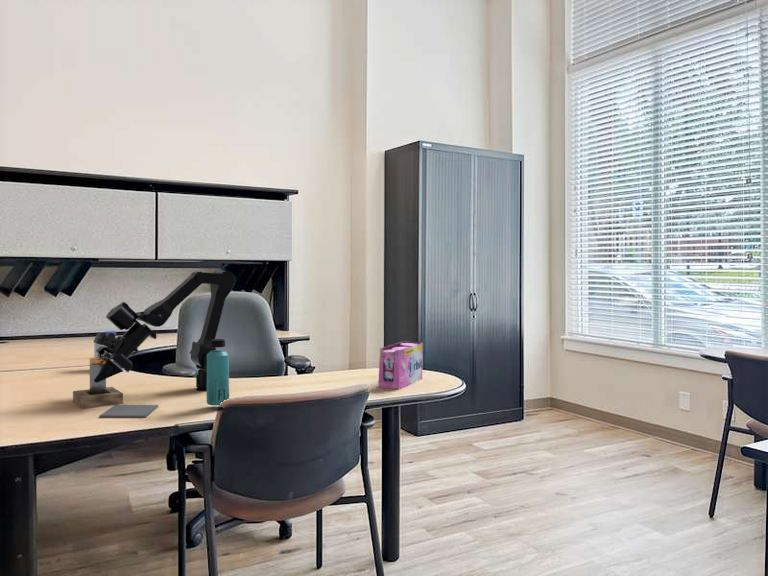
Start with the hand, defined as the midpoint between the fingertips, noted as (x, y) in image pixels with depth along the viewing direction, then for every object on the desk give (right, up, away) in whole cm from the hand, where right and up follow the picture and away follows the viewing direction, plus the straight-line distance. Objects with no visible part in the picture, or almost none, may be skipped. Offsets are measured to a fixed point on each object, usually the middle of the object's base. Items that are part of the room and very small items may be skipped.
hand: (92, 380), depth 181 cm
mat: (+15, -7, -9) cm, 19 cm away
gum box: (+91, -7, +39) cm, 100 cm away
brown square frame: (+1, -7, +1) cm, 7 cm away
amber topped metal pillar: (+1, -7, +1) cm, 7 cm away
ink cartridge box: (-18, -4, +51) cm, 55 cm away
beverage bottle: (+37, -8, -3) cm, 38 cm away
